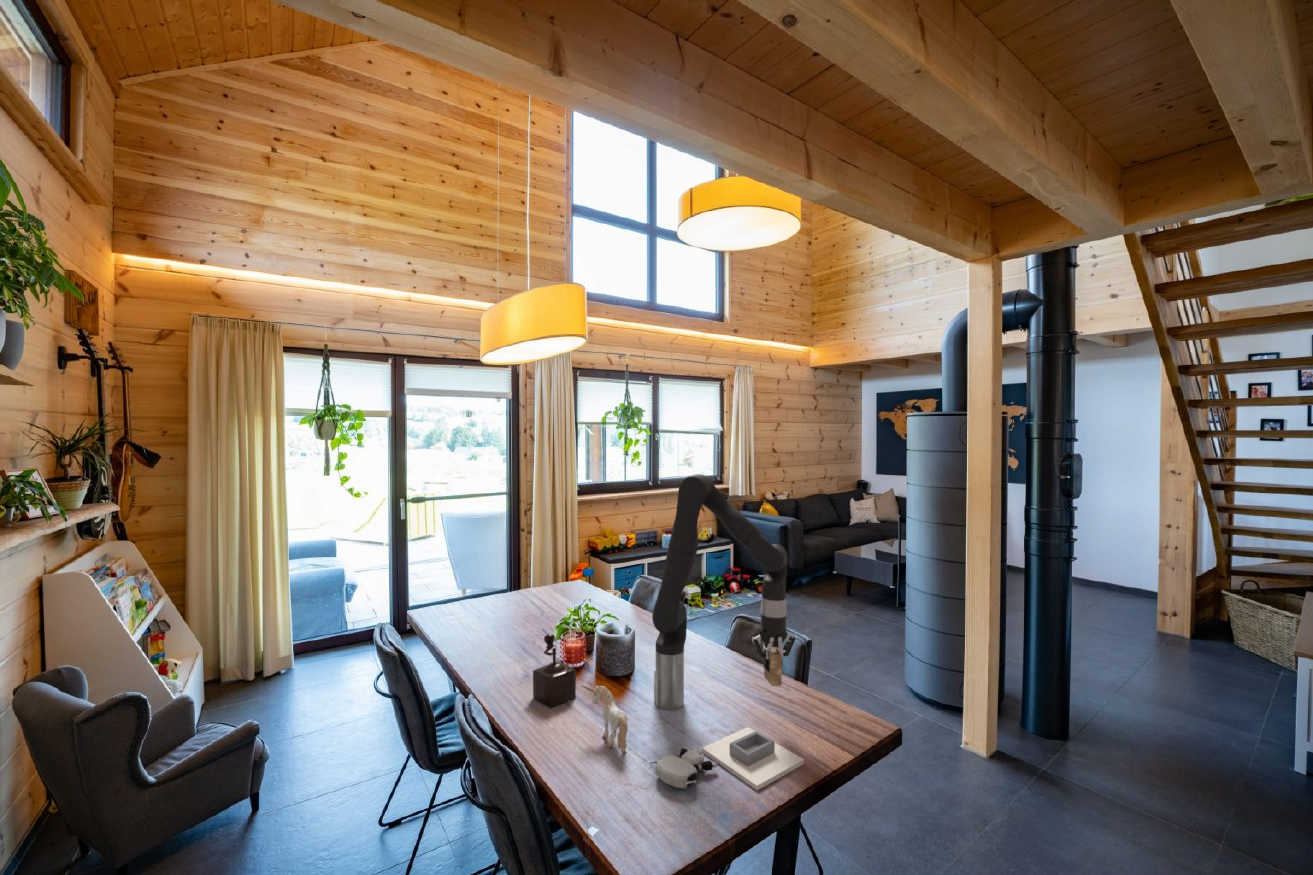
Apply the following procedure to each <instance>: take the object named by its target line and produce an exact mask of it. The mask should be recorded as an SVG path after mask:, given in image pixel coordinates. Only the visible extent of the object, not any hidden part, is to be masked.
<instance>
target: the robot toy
mask: <svg viewBox="0 0 1313 875" xmlns="http://www.w3.org/2000/svg"><path fill="white" fill-rule="evenodd" d="M704 758H705V754H704V753H703V752H699V751H698V750H693V749H691V750H690V749H689V748H686V747H681V749H680V751H679V756H678V757H677V756H675V755H665V756H664V757H661V758H660V759H658V760H656V761H649V762H648V764H649V765H652V764H655V768H654V769H655V770H654V773H655V775H656V776H657V777H658V779H660V781H662V782H664V783H665V784H667V785H670V786H671V787H674V788H678V789H687V788H689V787H691V786H693V785H694V784H697V781H698V773H699V772H700V771H701V770H703V771H706V772H707V771H711V770H713V768H714V769H715V768H717V767H718V763H717V762H715V761H714V760H713V761H711V760H705V759H704Z"/></svg>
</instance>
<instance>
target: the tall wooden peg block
mask: <svg viewBox="0 0 1313 875" xmlns="http://www.w3.org/2000/svg"><path fill="white" fill-rule="evenodd" d="M769 659H770V671H766V669H765V668H764V667H763V669H764V670H763V671H764V674H763V675H764V676H763V678H764V679H765V680H766V681H767V682H768V684H769V685H770V686H771V687H780V686H782V685H783V684H782V680H783V678H782V676H783V675H782V674H783V673H782V671H783V670H782V669H783V659H782V655H781V654H780V653H779V652H778V651H777V650H776V648H775V647H772V651H771V652H770V658H769Z"/></svg>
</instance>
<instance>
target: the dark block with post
mask: <svg viewBox="0 0 1313 875" xmlns="http://www.w3.org/2000/svg"><path fill="white" fill-rule="evenodd" d="M555 640H556V636H555V635H554V634H553V633H547V634H546V635H545V636H544V637H543V641H544V642H545V644H546V648H545V649H544V651H543V654H544V655H545V656H552V662H550V663H549V664H546V665H544V666H541V667H538V668H536V669H534V670H533V671H532V692H533V693H532V695H533V697H532V698H533V699H534V700H535V701H537V702H538V703H540V704H541V705H543V706H545V707H547V708H549V709H553V708H555V707H558V706H561V705H563V704H565V703H568V702H570V701H572V700H574V699H576V698H577V696H576V695H577V694H576V692H577V691H576V688H577V687H576V686H577V682H576V681H577V676H576V675H577V671H576V669H575V668H573V667H571V666H569V664H568V663H565V662H564V660H563V659H562V660H561V662H560V661H559V660H558V661H556V658H557V657H556V655H557V654H558V652H557V649H556V647H555V645H554V641H555ZM551 650H552V652H549V651H551Z"/></svg>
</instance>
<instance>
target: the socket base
mask: <svg viewBox="0 0 1313 875" xmlns="http://www.w3.org/2000/svg"><path fill="white" fill-rule="evenodd" d="M701 753H703V755H704V756H707V757H708V758H709V759H711V760H713V762H716V763H717V765H720V766H721V767H722V768H724V769H725V770H727V771H729V772H730V773H731V774H732V775H734V776H735V777H737V778H739V780H741V781H743V782H744V783H746V784H747V785H748V786H750V787H751V788H752V789H754V790H755V791H759V790H761V789H763V788H764V787H766V786H768V785H769V784H771V783H773V782H775V781H777V780H778V779H780V778H782V777H784V776H785V775H787V774H789V773H791V772H792V771H795V770H797V769H798V768H799V767H801V766H803V765H805V759H804V758H802V757H801V756H799V755H797V754H795V753H793V752H792V751H790V750H789V749H786V748H785V747H784V746H781V745H779V744H778V743H776V742H775V741H774V740H773V739H771V738H770V737H768V736H766V735H764V734H763V733H762V732H759V731H757V730H754V729H752V728H750V727H749V726H746V727H745V728H742V729H740V730H738V731H736V732H733V733H732V734H730V735H727V736H725V737H723V738H720V739H718V740H717V741H714V742H712V743H710V744H708V745H705V746H704V747H702V748H701Z"/></svg>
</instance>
